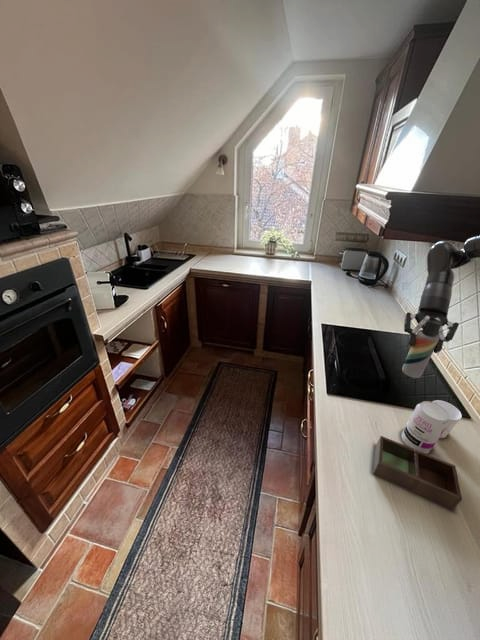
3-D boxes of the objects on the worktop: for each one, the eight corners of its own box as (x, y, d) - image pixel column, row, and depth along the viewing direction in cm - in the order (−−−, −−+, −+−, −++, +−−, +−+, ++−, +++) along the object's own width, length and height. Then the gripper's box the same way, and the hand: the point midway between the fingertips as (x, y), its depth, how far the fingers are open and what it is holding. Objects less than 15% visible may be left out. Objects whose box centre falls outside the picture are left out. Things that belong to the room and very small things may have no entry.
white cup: (443, 445, 80) (457, 424, 75) (416, 428, 85) (427, 407, 80) (451, 432, 85) (464, 411, 80) (424, 416, 90) (436, 396, 85)
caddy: (446, 477, 71) (455, 465, 69) (451, 511, 64) (462, 499, 61) (375, 447, 79) (380, 435, 76) (372, 474, 72) (378, 462, 69)
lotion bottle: (405, 364, 88) (427, 314, 78) (423, 373, 84) (449, 321, 74) (398, 371, 85) (420, 319, 75) (417, 380, 81) (443, 327, 71)
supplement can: (429, 438, 82) (449, 406, 75) (431, 460, 76) (453, 427, 68) (401, 427, 86) (417, 395, 78) (400, 446, 79) (418, 414, 72)
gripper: (412, 290, 81) (399, 339, 77) (468, 300, 75) (457, 354, 71) (406, 299, 87) (394, 345, 84) (457, 309, 81) (447, 358, 78)
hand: (423, 349), depth 78 cm, fingers closed on lotion bottle, 5 cm apart
